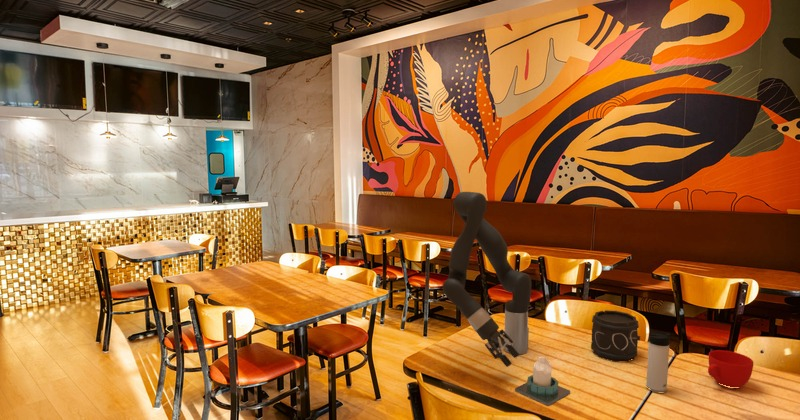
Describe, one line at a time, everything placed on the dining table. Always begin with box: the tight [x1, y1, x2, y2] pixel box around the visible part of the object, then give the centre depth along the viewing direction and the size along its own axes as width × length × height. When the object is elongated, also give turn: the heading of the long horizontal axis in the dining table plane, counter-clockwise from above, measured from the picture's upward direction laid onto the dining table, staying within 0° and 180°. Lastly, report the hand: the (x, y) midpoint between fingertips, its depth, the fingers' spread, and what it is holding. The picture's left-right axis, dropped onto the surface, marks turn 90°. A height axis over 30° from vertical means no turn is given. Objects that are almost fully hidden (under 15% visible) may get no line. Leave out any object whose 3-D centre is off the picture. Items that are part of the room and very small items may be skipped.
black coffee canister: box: [590, 309, 641, 362], centre depth 196 cm, size 18×18×16 cm
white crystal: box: [532, 356, 553, 387], centre depth 164 cm, size 6×12×6 cm
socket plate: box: [514, 374, 571, 407], centre depth 165 cm, size 13×13×4 cm
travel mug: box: [645, 331, 672, 393], centre depth 166 cm, size 6×7×20 cm
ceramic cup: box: [707, 349, 754, 388], centre depth 169 cm, size 13×17×10 cm
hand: (513, 360), depth 169 cm, fingers open, 8 cm apart
